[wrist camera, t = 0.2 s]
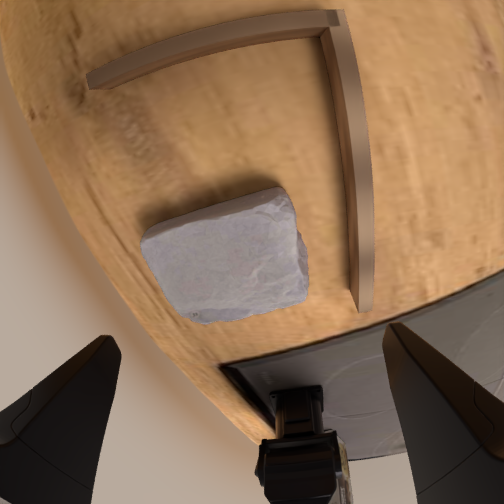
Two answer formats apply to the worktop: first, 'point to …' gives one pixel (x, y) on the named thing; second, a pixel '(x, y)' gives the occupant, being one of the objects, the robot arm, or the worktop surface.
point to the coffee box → (343, 478)
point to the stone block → (230, 258)
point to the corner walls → (344, 97)
